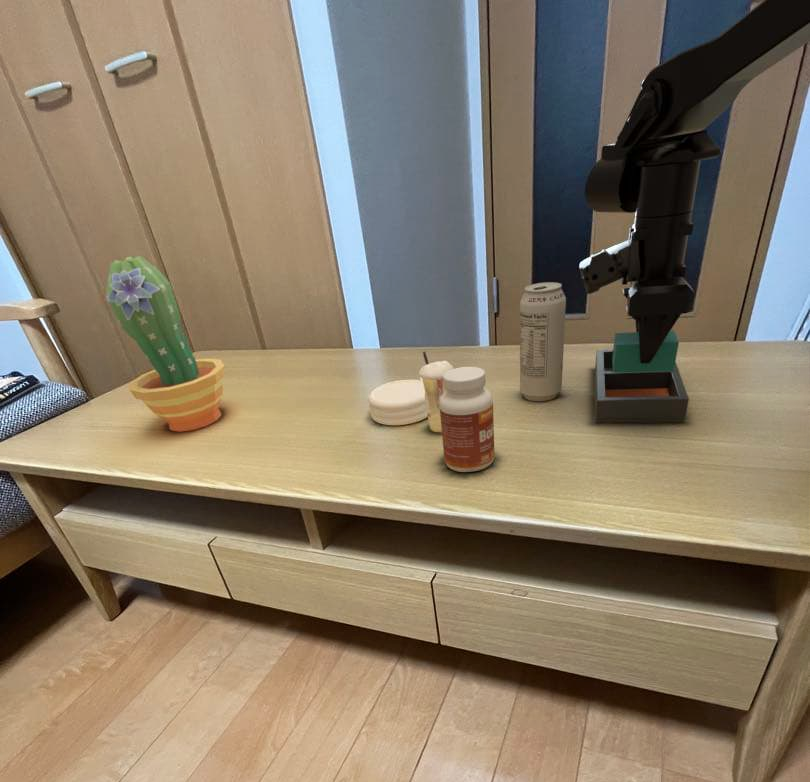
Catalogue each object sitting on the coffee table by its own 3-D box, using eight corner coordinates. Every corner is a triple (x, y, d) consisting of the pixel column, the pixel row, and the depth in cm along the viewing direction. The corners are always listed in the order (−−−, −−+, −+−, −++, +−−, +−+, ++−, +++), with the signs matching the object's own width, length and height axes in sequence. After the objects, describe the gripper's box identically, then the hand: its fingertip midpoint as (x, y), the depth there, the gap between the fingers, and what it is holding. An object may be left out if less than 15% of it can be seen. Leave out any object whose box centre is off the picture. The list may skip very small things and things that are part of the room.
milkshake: (444, 416, 76) (438, 347, 70) (463, 428, 72) (458, 355, 66) (417, 425, 75) (408, 355, 69) (435, 437, 70) (427, 365, 65)
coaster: (357, 419, 79) (353, 397, 77) (401, 396, 85) (398, 374, 83) (405, 432, 73) (401, 408, 71) (449, 406, 79) (447, 383, 77)
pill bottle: (490, 475, 61) (486, 383, 54) (439, 473, 63) (429, 384, 56) (498, 450, 65) (496, 362, 59) (451, 449, 67) (443, 364, 61)
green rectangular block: (669, 357, 68) (674, 329, 66) (673, 371, 64) (678, 342, 62) (612, 359, 70) (614, 333, 68) (613, 373, 66) (616, 345, 64)
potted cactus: (129, 438, 86) (47, 273, 71) (189, 401, 97) (129, 251, 82) (202, 442, 80) (131, 263, 65) (257, 402, 91) (206, 242, 77)
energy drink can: (570, 394, 76) (576, 284, 67) (536, 406, 74) (538, 294, 66) (544, 384, 81) (546, 279, 72) (512, 394, 79) (510, 288, 70)
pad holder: (594, 369, 83) (596, 350, 81) (666, 367, 80) (670, 346, 78) (595, 423, 68) (597, 400, 66) (684, 422, 65) (689, 398, 63)
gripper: (586, 212, 66) (579, 337, 75) (585, 234, 52) (575, 384, 61) (683, 201, 63) (662, 333, 72) (709, 221, 49) (679, 381, 58)
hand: (643, 355), depth 66 cm, fingers closed on green rectangular block, 5 cm apart
